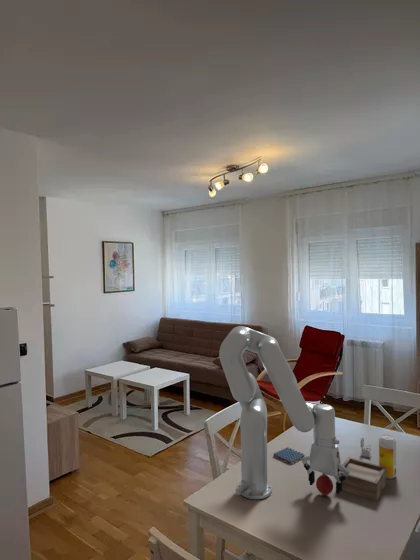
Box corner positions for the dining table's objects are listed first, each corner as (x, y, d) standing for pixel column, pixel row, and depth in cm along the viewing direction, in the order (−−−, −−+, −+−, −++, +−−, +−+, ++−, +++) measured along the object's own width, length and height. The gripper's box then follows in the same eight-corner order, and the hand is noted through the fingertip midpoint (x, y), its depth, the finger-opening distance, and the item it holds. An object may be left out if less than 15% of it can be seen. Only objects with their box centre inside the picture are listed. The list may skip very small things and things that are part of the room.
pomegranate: (329, 490, 139) (329, 468, 139) (335, 499, 134) (335, 477, 134) (314, 490, 139) (314, 469, 139) (319, 500, 133) (319, 477, 133)
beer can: (381, 469, 154) (381, 432, 154) (398, 474, 150) (397, 436, 150) (377, 475, 149) (377, 437, 149) (394, 480, 145) (393, 441, 145)
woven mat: (271, 457, 166) (271, 453, 166) (287, 450, 173) (286, 446, 173) (290, 466, 158) (290, 462, 158) (306, 458, 165) (306, 454, 165)
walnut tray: (376, 501, 132) (376, 483, 132) (336, 488, 141) (336, 471, 141) (386, 483, 144) (386, 467, 143) (348, 472, 152) (348, 457, 152)
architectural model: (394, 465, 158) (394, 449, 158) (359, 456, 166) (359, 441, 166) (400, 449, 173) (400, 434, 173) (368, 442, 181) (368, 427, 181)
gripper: (352, 442, 134) (352, 490, 134) (305, 431, 145) (306, 476, 145) (345, 450, 128) (346, 501, 128) (297, 438, 139) (298, 484, 139)
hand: (325, 487), depth 136 cm, fingers open, 9 cm apart
